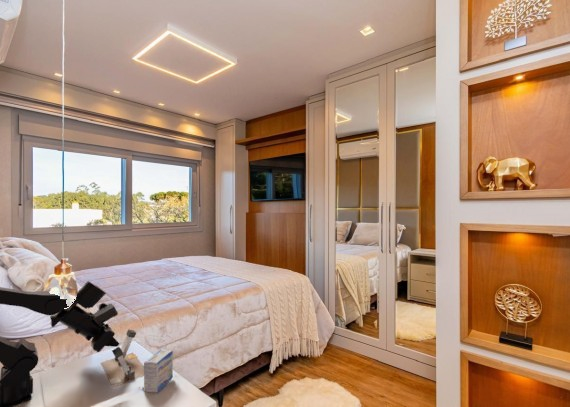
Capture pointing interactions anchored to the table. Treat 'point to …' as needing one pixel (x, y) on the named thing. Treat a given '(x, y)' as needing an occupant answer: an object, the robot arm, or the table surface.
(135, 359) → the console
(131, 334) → the far lever
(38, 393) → the table surface
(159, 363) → the medicine box
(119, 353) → the near lever
